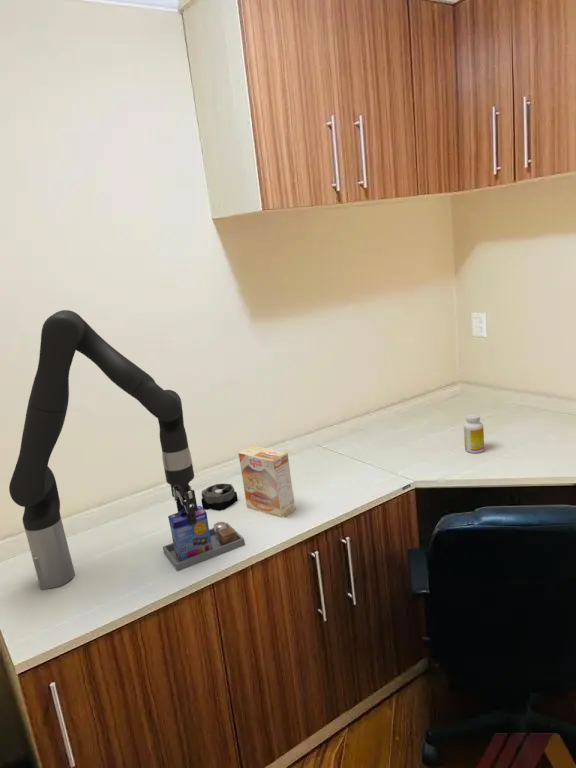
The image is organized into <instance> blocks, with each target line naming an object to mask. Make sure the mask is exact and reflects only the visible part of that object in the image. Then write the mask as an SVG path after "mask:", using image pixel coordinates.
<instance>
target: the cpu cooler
mask: <svg viewBox="0 0 576 768" xmlns="http://www.w3.org/2000/svg"><path fill="white" fill-rule="evenodd" d="M238 500H239V499H238V493H237V491H235V487H234V486H233V485H232V483H215V484H213V485H210V486H208V487H207V488H205V489H202V491H201V507H202V508H203V509H204V510H205V511H206V510H207V511H209V510H212V511H218V512H220V511H225V510H227V509H228V508H229V507H231V506H232V505H233V504H235V503H236V502H238Z"/></svg>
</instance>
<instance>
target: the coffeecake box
mask: <svg viewBox="0 0 576 768" xmlns="http://www.w3.org/2000/svg"><path fill="white" fill-rule="evenodd" d="M238 459H239V465H240V471H241V478H242V483H243V490H244V496H245V502H246V508H248V509H250V510H253V511H257V512H260V513H264V514H266V515H270V516H275V517H277V518H283V517H285V518H286V517H287V516H288V515H290V514H292V513H293V512H295V511H296V506H295V505H296V504H295V499H294V490H293V482H292V475H291V469H290V468H291V466H290V462H289V454H288V452H285V451H281V450H276V449H271V448H267V447H262V446H257V445H251V446H249V447H247V448H246V449H245V448H244V449H243V450H241V451H239V452H238Z"/></svg>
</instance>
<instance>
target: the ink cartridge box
mask: <svg viewBox="0 0 576 768" xmlns="http://www.w3.org/2000/svg"><path fill="white" fill-rule="evenodd" d="M191 507H192V505H190V508H191ZM197 508H198V511H196V512H195V514H196V520H197V523H196V524H193V525H189V524H188V519H187V514H186V510H185V509H182V510H181V511H180V512H178V511H177V512H176V513H173V514H170V515H168V516H167V517H168V518H167V519H168V522H169V528H170V532H171V536H172V543H173V544H174V549H175V554H176V556H177V557H178V559H179V561H180V562H182V561H184V560H187V559H189V558H192V557H195V556H197V555H200V554H202V553H205V552H208V551H210V550H212V545H211V539H210V532H209V529H210V528H209V521H208V514H207V511H206V510H205V509H203V506H202V505H197Z"/></svg>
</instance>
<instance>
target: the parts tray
mask: <svg viewBox="0 0 576 768" xmlns="http://www.w3.org/2000/svg"><path fill="white" fill-rule="evenodd" d="M225 523H226V527H231V528H232V529H233V530H235V529H234V528H233V527H232V526H231V525H230V524H229V523H228V522H225ZM209 532H210V539H211V545H212V550H210V551H208V552H205V553H202V554H200V555H197V556H195V557H192V558H189V559H187V560H184V561H182V562H180V561H179V559H178V557H177V556H176V554H175V549H174V544H173V542H171V543H169V544H166V545H163V546H162V550H163V554H164V555H165V556H166V558H167V559H168V560H169V562H170V563H171V565H172V566H173V567H174V569H175V570H176V572H179V571H181V570H182V571H183V570H185V569H187V568H189V567H192V566H195V565H197V564H200V563H202V562H205V561H207V560H210V559H213V558H215V557H217V556H220V555H223V554H226V553H228V552H230V551H232V550H236V549H238V548H241V547H243V546H245V545H246V544H245V543H246V542H245V538H244V537H243V536H242V535H241V534H240V533H239V532H237V531H236V535H237V540H236V541H234V542H231V543H228V544H226V545H223V546H221V545H220V543H219V540H216V537H215V531H214V527H212V528H209Z"/></svg>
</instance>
